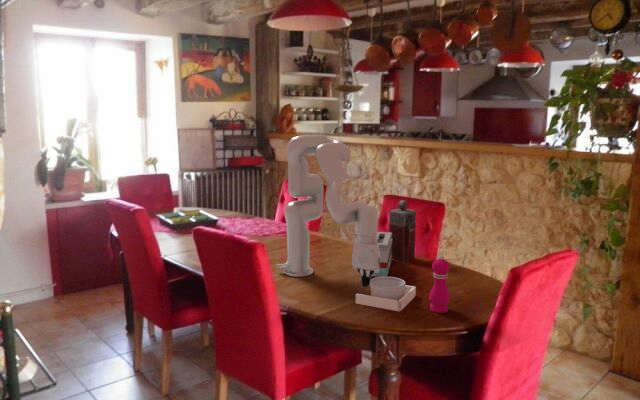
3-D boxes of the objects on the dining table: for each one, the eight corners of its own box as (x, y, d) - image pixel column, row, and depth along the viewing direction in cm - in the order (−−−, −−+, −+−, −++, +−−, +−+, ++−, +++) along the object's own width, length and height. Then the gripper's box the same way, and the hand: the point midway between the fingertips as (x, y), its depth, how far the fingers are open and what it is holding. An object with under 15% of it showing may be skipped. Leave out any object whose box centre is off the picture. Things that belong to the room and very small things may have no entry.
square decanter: (407, 263, 240) (409, 203, 235) (388, 258, 248) (389, 200, 243) (418, 259, 246) (420, 201, 241) (399, 254, 254) (401, 198, 249)
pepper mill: (426, 306, 188) (428, 252, 185) (445, 305, 189) (448, 252, 185) (432, 313, 181) (434, 258, 178) (452, 313, 182) (455, 257, 178)
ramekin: (369, 292, 202) (369, 275, 201) (403, 293, 201) (404, 276, 200) (369, 305, 189) (369, 287, 188) (406, 306, 188) (406, 288, 187)
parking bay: (355, 303, 191) (355, 294, 190) (374, 288, 207) (374, 280, 206) (400, 311, 183) (400, 302, 183) (415, 295, 199) (416, 286, 198)
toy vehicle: (392, 259, 246) (393, 228, 244) (387, 280, 217) (388, 245, 214) (375, 258, 248) (375, 227, 245) (368, 278, 219) (368, 244, 216)
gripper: (344, 238, 195) (343, 285, 198) (382, 243, 188) (380, 292, 191) (352, 234, 201) (351, 279, 205) (389, 238, 195) (388, 285, 198)
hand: (365, 285), depth 198 cm, fingers closed
